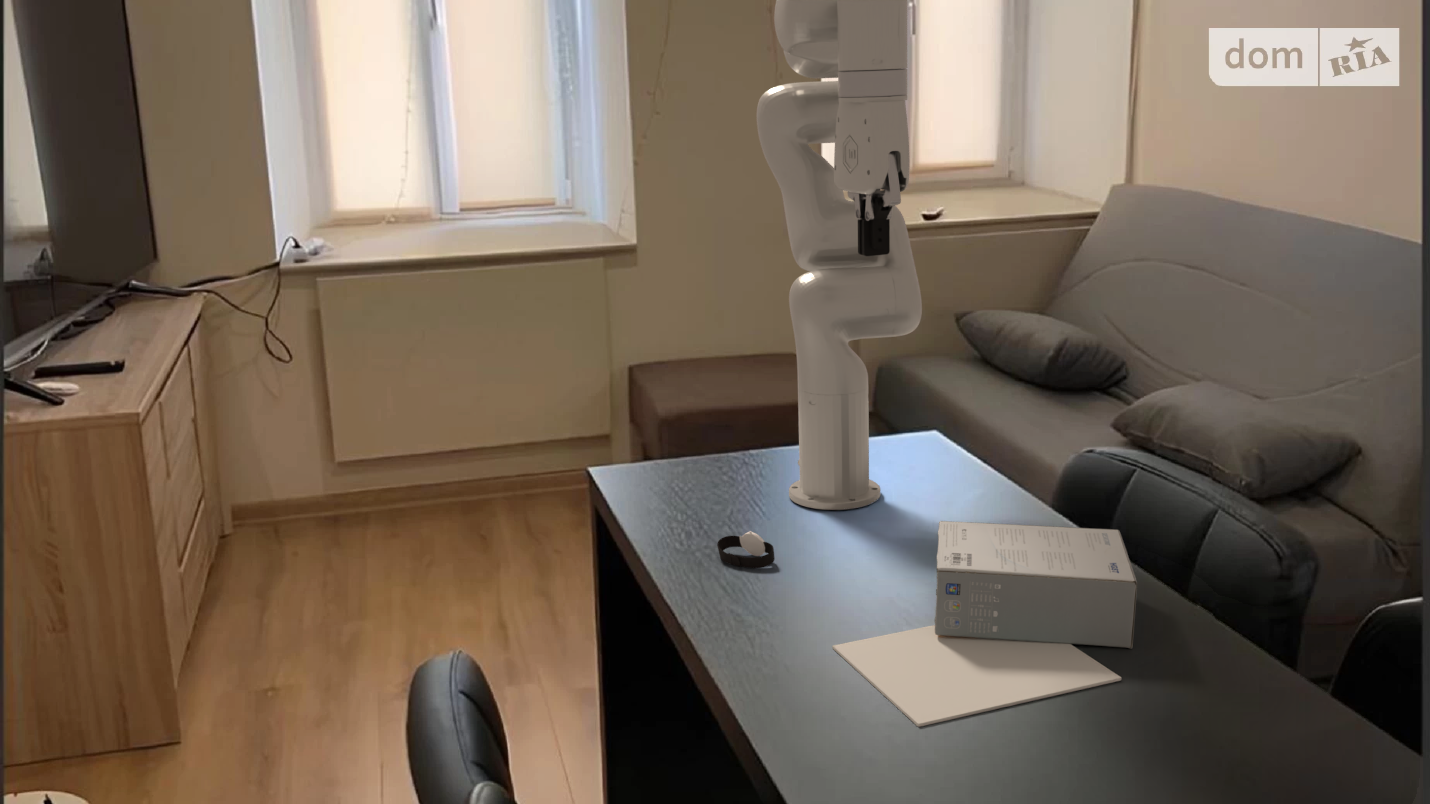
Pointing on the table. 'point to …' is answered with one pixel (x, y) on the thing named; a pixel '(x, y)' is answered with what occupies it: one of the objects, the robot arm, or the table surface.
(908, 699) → the mat
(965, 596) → the hard drive box
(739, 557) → the watch
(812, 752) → the table surface
